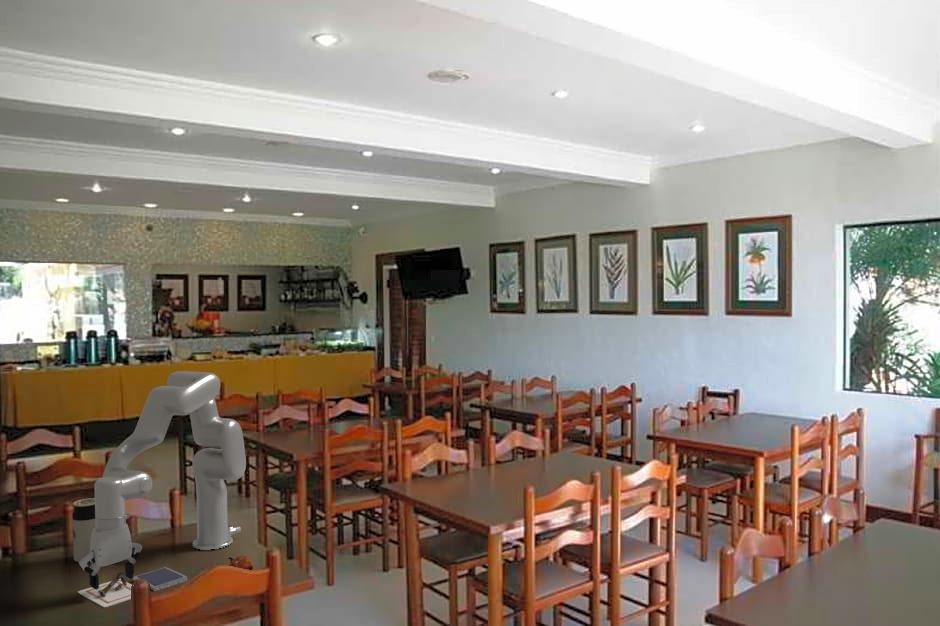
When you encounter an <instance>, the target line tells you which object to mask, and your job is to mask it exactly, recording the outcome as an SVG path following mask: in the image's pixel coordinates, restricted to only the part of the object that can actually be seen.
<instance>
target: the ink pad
mask: <svg viewBox="0 0 940 626" xmlns="http://www.w3.org/2000/svg"><path fill="white" fill-rule="evenodd" d="M140 578H142V579H146V580H147V581H148V582H149V584H150V587H151V589H152V590H153V591H152V590H151V591H152V592H157V591H160V590H163V589H166V588H169V587H173V586H176V585H178V584H182V583H185V582H188V576H186V575H185V574H183V573H180V572H178V571H175V570H173V569H172V568H169V567H166V566H164V567H162V568H161V567H160V568H158V569H155V570H151V571H149V572H145V573H142V574H141V573H140V574H138V575H134V576H133V578H132V579H133V582H134V580H136V579H140Z"/></svg>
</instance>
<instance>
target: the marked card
mask: <svg viewBox="0 0 940 626" xmlns="http://www.w3.org/2000/svg"><path fill="white" fill-rule="evenodd" d="M119 580H121V579H119ZM110 582H111V581H107V582H104V583H101V584H99V588H98V589H94V588H92V587H91V586H90V587H88V588H87V587H86V588H85V589H81V590H79V591H77V594H80V595H81V596H82V597H85V598H86V599H88V600H89V601H91V602H93V603H95V604H97V605H98V606H100V607H102V608H104V609H106V608H108V607H111V606H115V605H118V604H121V603H124V602H126V601H130V600H132V599H131V586H132V585H133V584H131V583H129V582H127V581H126V583H127V585H126V586H125V585H124V584H123V583H122V581H117V583H115V585H114V586H113V587H111V588H110V589H109V590H108V591H107V593H106V594H105V595H106V596H105V597H103V596H101V595H100V593H99V592H98V591H99V590H103V589H104V588H105V587H107V586H108V585H109V583H110ZM118 584H119V585H121V584H123V586H121V587H122V588H120V589H119V590H117V591H115V589H116V588H115V587H117V586H118ZM105 607H106V608H105Z"/></svg>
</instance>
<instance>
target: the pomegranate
mask: <svg viewBox="0 0 940 626" xmlns="http://www.w3.org/2000/svg"><path fill="white" fill-rule="evenodd" d="M227 560H230V562H229V564H228V566H234V567H238V568H243V569H249V570H251V571H252V570H253V569H254V562H253V561H252V560H251V558H249V557H248V556H244V555H239V556H237V557H235V558H233V557H231V556H229V557H228V558H227Z"/></svg>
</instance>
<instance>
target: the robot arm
mask: <svg viewBox="0 0 940 626" xmlns="http://www.w3.org/2000/svg"><path fill="white" fill-rule="evenodd" d="M166 383H167V385H161V386H156V387H153V388H151V389H152V390H150V392H149V394H148V396H147V398H146V400H145V401H146V402H145V404H144V406H143V408H142V411H141V413H140V416H139V419H138V421H137V423H136V426H135V429H134V431H133V433H132V434H130V435H129V436H128V437H127V438H125V440H123V441H122V443H121V444H120V445H118V446H117V447H116V449H114V451H113V452H112V453H111V454H110V457H109V458H108V461H107V463H106V465H105V468H104V471H103V473H102V477H100V478H98V479H97V480H96V481H95V482H94V485H93V486H94V498H95V521H96V528H95V529H93V530H92V535H91V542H90V553H89V554H88V555H87V556H85V557H84V558H83V559H82V560H80V561H79V562H78V564H79V565H80V567H81V568H82V571H84V572H86V573H87V574H89V576H88V577H89V586H90V588H91V587H92V588H94V589H98V588H99V585H100V584H99V583H100V582H99V581H100V580H99V577H100V576H99V574H98V572H99V571H100V569H101V568H102V567H106V566H109V565H113V564H116V563H120V562H123V561H126V562H125V564H124V565H125V566H124V571H125V572H124V575H125V577H127V578H129V579H133V577H134V574H135V564H136V562H137V559H138V558H139V557H140V556H141V551H142V549H143V545H142V544H140V543H136V542H132V538H131V532H130V529H129V526H128V523H127V520H128V519H130V518H131V516H130V515H131V514H130V513H126V501H129V500H135V499H140V498H142V497H145V496H146V495H147V494H149V493H150V492H151V490H152V488H153V478H152V477H151V475H150V474H149V473H147V472H144V471H140V470H131V469H128V467H129V466H130V463H131V462H132V461H133V459H135V457H136V456H138V455H139V454H141V453H143V452H144V451H146V450H148V449H150V448H153V447H155V446H157V445H160V444H161V443H163V441H164V440H165V437H166V434H167V431H168V429H169V426H170V423H171V420H172V418H173V416H187V415H189V418H190V424H191V429H192V436H193V437H192V438H193V440H194V442H195V444H196V445H198V446H200V447H206V448H203V449H200V450H198V451H197V452H196V453H195V454H194V456H193V459H192V462H191V463H192V472H193V476H194V481H195V490H196V491H195V492H196V528H197V529H196V530H197V538H196V539H194V540H193V541H192V548H194V549H195V548H196V550H198V549H200V551H212V550H211V549H215V550H220V549H219V548H221V549H224V548H226V547H225V546H227V547H229V546H231V545H232V544H233V542H234V541H233V540H234V539H233V537H232V536H233V535H234V534H239V533H241V531H242V528H241V526H236V527H233V526H229V525H228V490H227V489H228V488H227V485H226V483H225V481H237V480H239V479H241V478H242V477H243V475H244V474H245V471H246V467H247V457H246V449H245V442H244V435H243V429H242V427H241V425H240V423H239V422H238V421H236V420H235V419H233V418H224V417H220V416H219V412H218V407H217V402H216V399H215V398H216V397H217V396H218V395H219V393H220V390H221V380H220V378H219V377H218V375H216V374H215V373H212V372H209V371H208V372H207V371H206V372H204V371H192V370H191V371H189V370H178V371H174V372H171V374H169V376H167V379H166ZM231 543H232V544H231ZM230 544H231V545H230ZM228 545H229V546H228ZM223 547H224V548H223ZM133 548H134V551H133ZM89 561H90V562H89ZM88 563H91V565H90V566H89V565H88Z"/></svg>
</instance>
